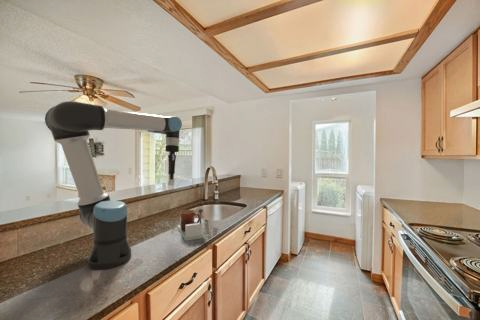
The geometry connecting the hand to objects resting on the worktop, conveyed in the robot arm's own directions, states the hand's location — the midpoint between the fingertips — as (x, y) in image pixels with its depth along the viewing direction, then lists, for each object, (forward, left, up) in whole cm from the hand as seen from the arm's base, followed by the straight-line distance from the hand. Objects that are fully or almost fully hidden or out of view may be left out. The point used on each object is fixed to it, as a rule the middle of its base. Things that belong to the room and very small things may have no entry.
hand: (171, 184), depth 120 cm
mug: (+9, -11, -25) cm, 29 cm away
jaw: (+9, -2, -24) cm, 26 cm away
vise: (+9, -11, -26) cm, 30 cm away
